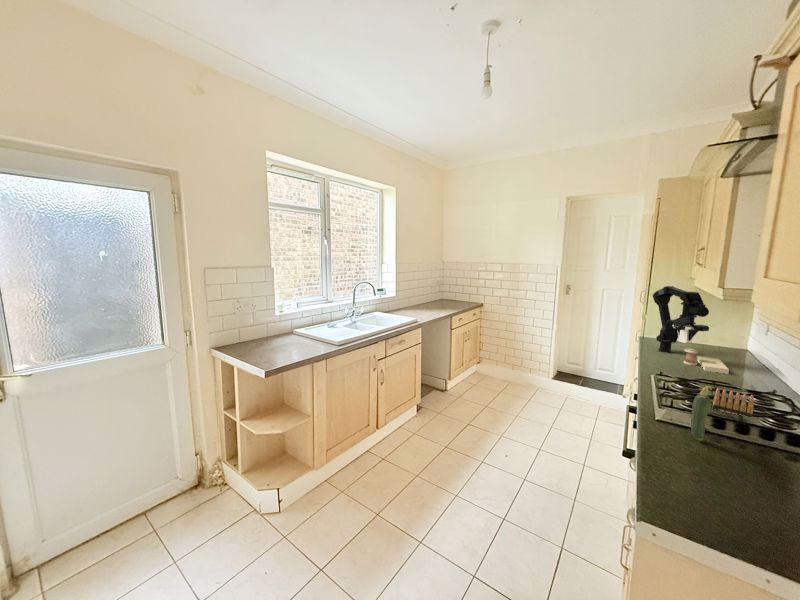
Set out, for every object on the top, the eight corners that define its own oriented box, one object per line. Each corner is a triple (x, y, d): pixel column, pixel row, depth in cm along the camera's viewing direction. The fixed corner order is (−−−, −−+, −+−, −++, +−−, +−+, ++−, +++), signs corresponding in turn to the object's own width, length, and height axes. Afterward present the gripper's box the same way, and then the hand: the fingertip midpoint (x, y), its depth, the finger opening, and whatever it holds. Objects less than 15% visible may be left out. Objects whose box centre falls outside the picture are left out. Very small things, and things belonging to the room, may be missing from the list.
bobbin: (682, 361, 186) (683, 348, 184) (696, 363, 182) (697, 349, 181) (684, 364, 181) (685, 350, 179) (698, 366, 177) (700, 352, 176)
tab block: (683, 340, 190) (685, 329, 189) (691, 342, 186) (692, 331, 185) (678, 341, 189) (680, 329, 188) (686, 343, 185) (687, 331, 184)
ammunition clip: (750, 425, 118) (756, 394, 116) (751, 427, 117) (756, 396, 115) (710, 414, 125) (715, 386, 124) (710, 416, 124) (714, 387, 122)
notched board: (697, 360, 187) (697, 355, 187) (718, 363, 182) (718, 358, 182) (704, 370, 171) (705, 366, 170) (728, 374, 166) (728, 369, 165)
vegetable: (685, 437, 111) (692, 383, 108) (692, 434, 112) (700, 380, 109) (701, 444, 107) (709, 388, 103) (708, 441, 108) (716, 385, 105)
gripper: (661, 311, 192) (658, 336, 194) (696, 317, 174) (692, 344, 176) (675, 310, 195) (672, 335, 197) (711, 316, 177) (707, 343, 179)
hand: (685, 339), depth 187 cm, fingers closed on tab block, 4 cm apart
